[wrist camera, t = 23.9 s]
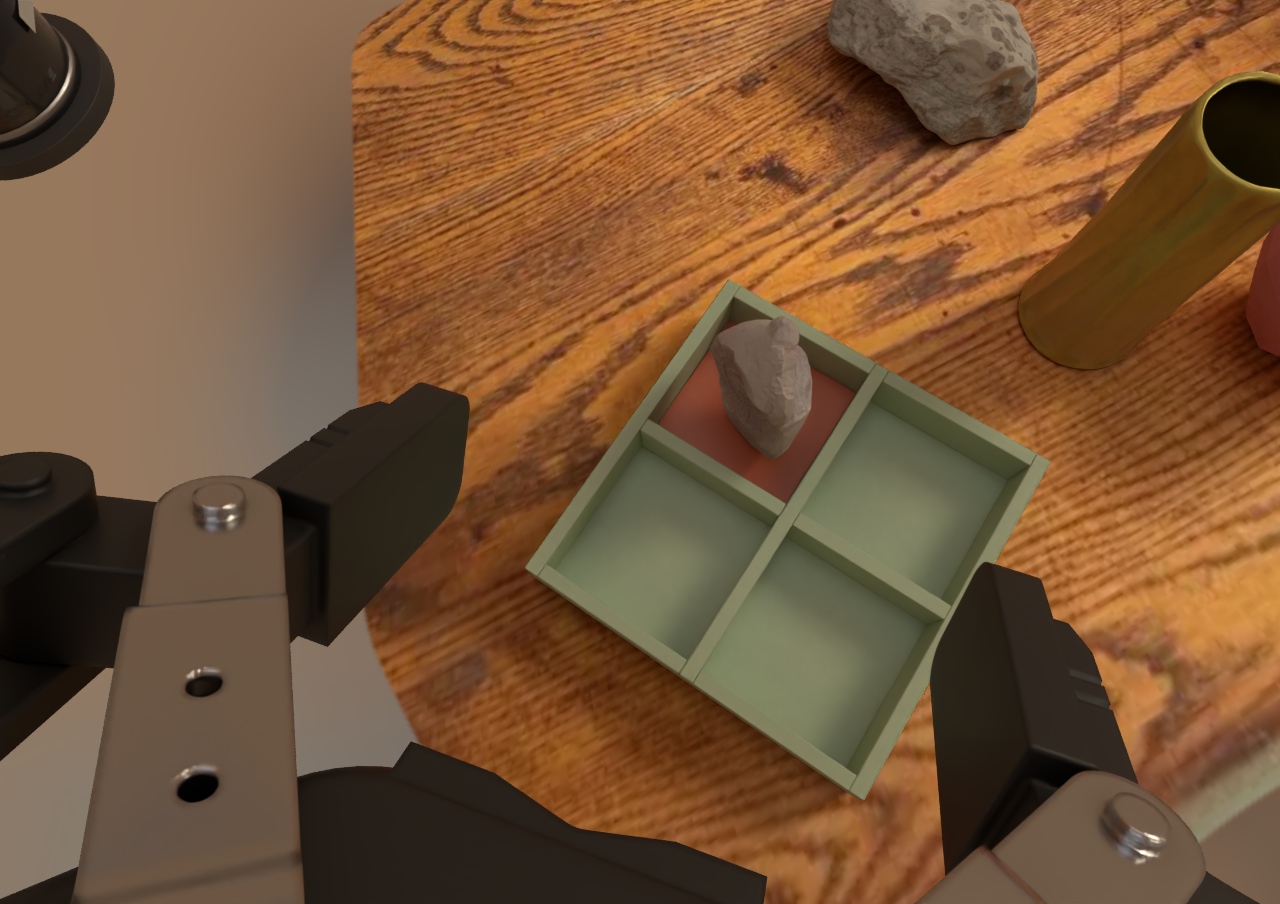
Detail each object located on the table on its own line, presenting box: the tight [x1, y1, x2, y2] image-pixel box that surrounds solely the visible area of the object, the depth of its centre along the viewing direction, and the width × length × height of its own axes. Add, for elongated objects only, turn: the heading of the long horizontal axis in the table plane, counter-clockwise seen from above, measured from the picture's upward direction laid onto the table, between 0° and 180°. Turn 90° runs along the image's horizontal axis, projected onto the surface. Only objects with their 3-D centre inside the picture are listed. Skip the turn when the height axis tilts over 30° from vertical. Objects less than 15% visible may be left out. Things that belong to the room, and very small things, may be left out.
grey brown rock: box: [710, 316, 812, 460], centre depth 35 cm, size 6×4×10 cm, turn 25°
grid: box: [525, 280, 1050, 800], centre depth 38 cm, size 17×17×3 cm
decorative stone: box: [827, 0, 1038, 145], centre depth 44 cm, size 12×11×5 cm
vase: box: [1018, 72, 1280, 369], centre depth 35 cm, size 6×6×14 cm
